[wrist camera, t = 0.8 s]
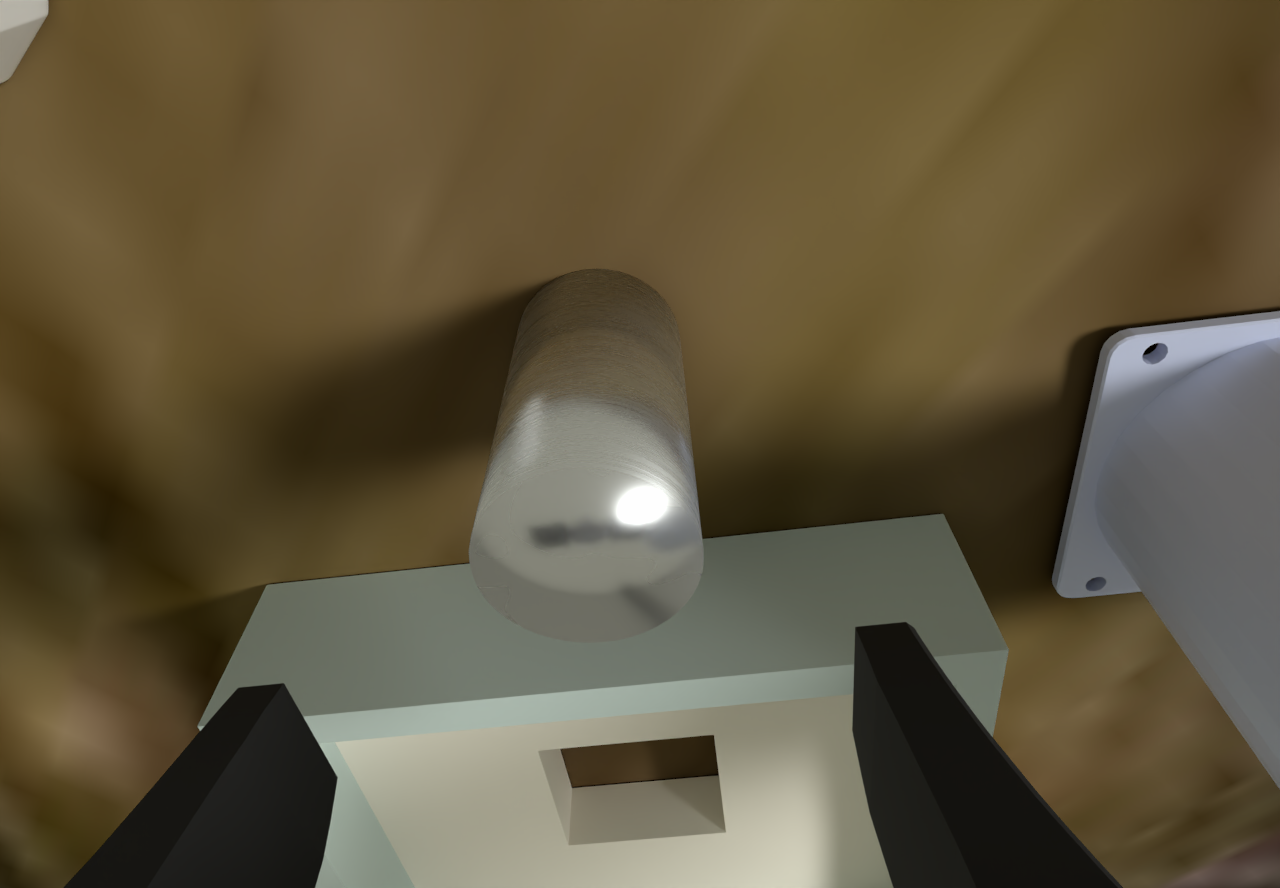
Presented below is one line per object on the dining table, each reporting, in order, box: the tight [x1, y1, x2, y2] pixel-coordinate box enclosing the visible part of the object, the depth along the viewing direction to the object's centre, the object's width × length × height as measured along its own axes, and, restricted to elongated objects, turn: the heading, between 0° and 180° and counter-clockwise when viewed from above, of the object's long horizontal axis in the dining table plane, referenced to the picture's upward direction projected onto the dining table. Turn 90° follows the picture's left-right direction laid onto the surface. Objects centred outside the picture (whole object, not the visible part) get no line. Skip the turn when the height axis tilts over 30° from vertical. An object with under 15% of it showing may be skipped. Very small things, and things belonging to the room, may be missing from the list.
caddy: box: [197, 514, 1009, 888], centre depth 25 cm, size 18×16×4 cm
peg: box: [469, 269, 704, 643], centre depth 16 cm, size 4×4×7 cm
